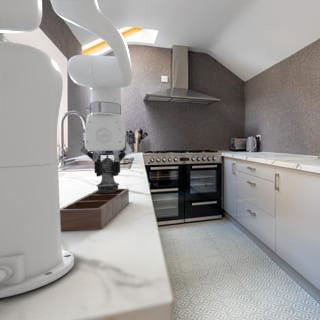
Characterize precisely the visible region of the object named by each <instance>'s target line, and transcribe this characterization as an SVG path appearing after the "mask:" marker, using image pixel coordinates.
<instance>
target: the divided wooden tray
mask: <svg viewBox="0 0 320 320" xmlns="http://www.w3.org/2000/svg"><path fill="white" fill-rule="evenodd" d="M129 203H130V191H129V188H118V189H117V191H116V192H114V193H113V194H103V193H100V192H99V190H98V189H96V190H94V191H92V192H90V193H88V194H86V195H84V196H82V197H81V198H78V199H77V200H74V201H73V202H71V203H68V204H66V205H64V206H62V207H60V225H61V232H67V231H85V230H102V229H103V228H104V227H105V226H106V225H107V224H108V223H109V222H110V221H111V220H112V219H113V218H114V217H116V216H117V215H118V214H119V213H120V212H121V211H122V210H123V209H124V208H125V207H126V206H127V205H128V204H129Z"/></svg>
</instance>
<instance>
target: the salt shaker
mask: <svg viewBox="0 0 320 320" xmlns="http://www.w3.org/2000/svg"><path fill="white" fill-rule="evenodd" d="M101 162H102V171H101V172H102V176H101V181H100V183H98V184H95V186H96V187H97V190H99V192H100V193H103V194H113V193H114V192H116V191H117V189H119V186H120V183H118V182H116V181H115V178H114V177H115V176H113V162H114V159H112V158H110V156H109V155H108V154H106V156H105V158H103V159H101Z"/></svg>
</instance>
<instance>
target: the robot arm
mask: <svg viewBox="0 0 320 320" xmlns="http://www.w3.org/2000/svg"><path fill="white" fill-rule="evenodd" d="M49 2H50V3H51V6H52V10H53V11H54V13H55V14H56V15H57V16H59V17H60V18H61V19H63V20H65V21H67V22H69V23H72V24H73V25H75V26H77V27H80V28H82V29H84V30H86V31H88V33H91V34H93V35H95V36H97V37H98V38H99V39H101V40H102V41H103V42H104V43H106V45H107V46H108V47H109V48H110V49H111V50H112V53H113V54H114V56H113V55H112V56H111V55H99V54H98V55H97V54H96V55H92V54H90V55H89V54H75V55H72V56H71V57H70V58H69V59H68V61H67V63H66V70H67V73H68V75H69V77H70V79H71V80H72V81H73V83H75V84H77V85H78V86H80V87H84V88H89V89H90V103H89V105H88V106H87V105H86V106H85V108H84V109H85V111H86V112H89V113H90V114H87V115H86V121H85V129H84V144H83V145H82V147H81V148H80V151H79V152H80V153H82V154H84V155H85V156H87V157H88V158H89V159H90V160H92V162H94V174H95V175H96V177H102V172H101V171H102V153H103V152H112V154H113V176H114V177H118V176H119V175H120V173H121V162H122V160H123V159H125V158H126V156H128V155H129V154H131V153H133V152H134V149H133V148H132V146H131V144H130V143H129V141H128V137H127V136H128V135H127V129H126V122H125V118H124V116H123V115H122V99H121V94H122V93H121V89H122V88H123V89H124V88H127V87H129V86H130V85H131V84H132V81H133V67H132V62H131V57H130V51H129V48H128V44H127V42H126V40H125V38H124V36H123V34H122V33H121V32H120V30H119V28H118V27H116V25H115V24H114V23H113V22H112V21H111V19H109V18H108V17H107V16H106V15H105V14H104V13H103V12H102V10H101V9H100V8H99V4H98V0H49ZM42 19H43V0H0V33H4V34H5V33H6V34H9V33H10V34H21V33H23V34H24V33H30V32H33V31H35V30H37V29H38V28H39V27H40V25H41V23H42ZM63 84H64V83H63V75H62V72H61V70H60V67H59V65H58V64H57V62H56V61H55V60H54V58H52V57H51V56H50V55H49V54H48V53H46V52H45V51H43V50H41V49H39V48H37V47H35V46H31V45H29V44H23V43H20V42H13V41H1V40H0V299H2V298H8V297H13V296H15V295H20V294H24V293H27V292H30V291H34V290H37V289H38V288H41V287H44V286H46V285H48V284H50V283H52V282H55V281H56V280H58V279H60V278H62V277H63V276H65V275H66V274H67V273H68V272H70V270H72V268H73V267H74V265H75V255H74V254H73V253H72V251H70V250H66V249H63V247H62V231H61V225H60V208H61V204H60V202H61V201H60V183H59V182H60V180H59V162H58V161H59V160H58V123H59V115H60V108H61V101H62V96H63V89H64V88H63V87H64V85H63ZM121 151H122V152H121Z"/></svg>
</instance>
